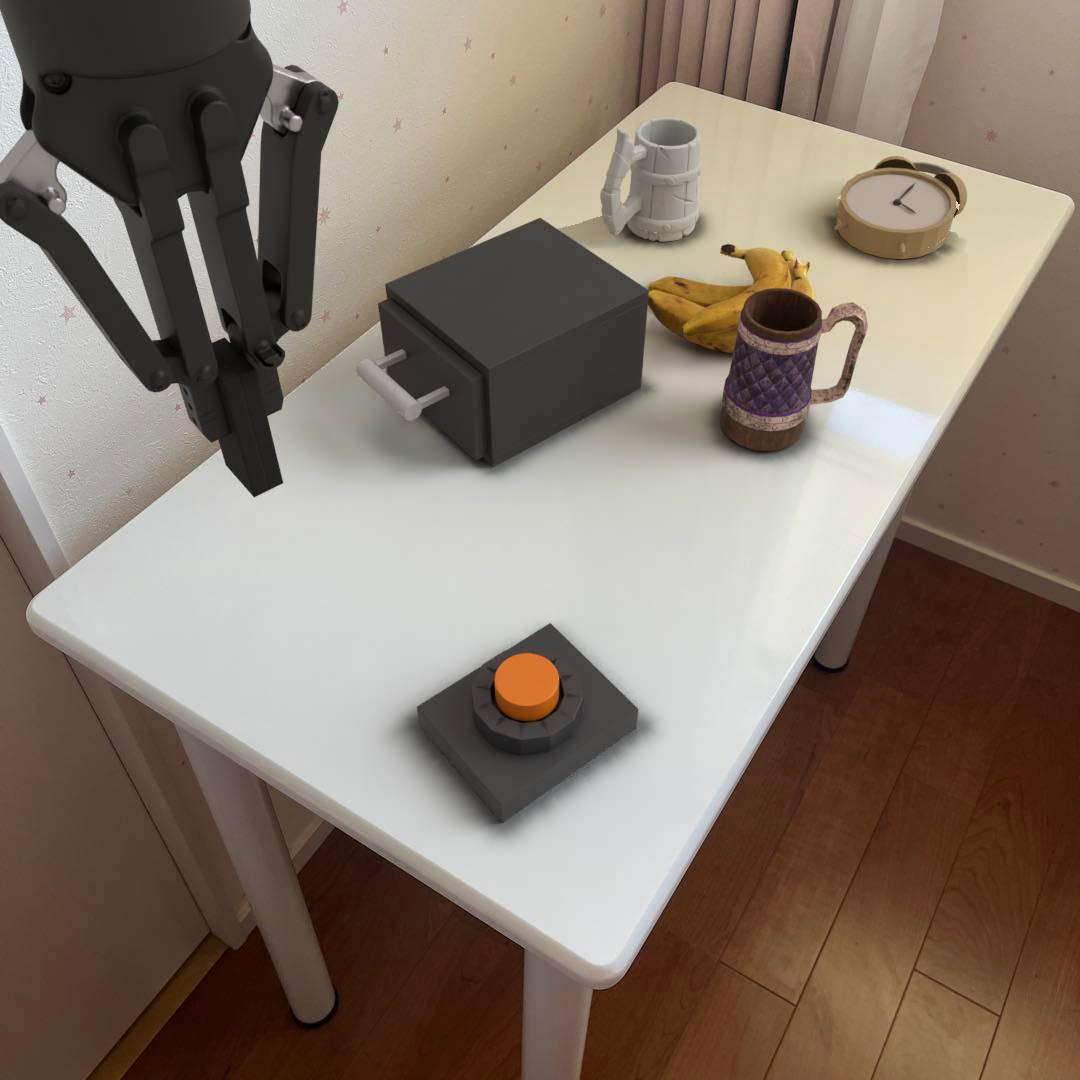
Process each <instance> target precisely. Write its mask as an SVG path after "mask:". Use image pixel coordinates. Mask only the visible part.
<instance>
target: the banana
mask: <svg viewBox="0 0 1080 1080" xmlns="http://www.w3.org/2000/svg"><path fill="white" fill-rule="evenodd" d="M719 254H721V255H724V256H728V257H730V258H733V259H740V260H742V261H744V262H745V265H746V266H747V267H746V268H747V269H748V271H749V273H750V275H751V277H752V284H749V285H735V286H734V285H718V284H710V283H706V282H705V283H704V282H699V281H696V280H691V279H687V278H683V277H680V276H679V277H678V276H665V277H662V278H659V279H656V280H654V281H652V282H650V283H649V284H648V285H649V286H648V290H649V295H648V308H649V309H650V310H651V312H652V314H653V315H654V317H655V318H656V320H657V321H658V322H659V323H660V324H661V325H662V326H663V327H664V328H666V329H667V330H669V332H671V333H673V334H675V335H677V336H679V337H680V338H682V339H684V340H687V341H688V342H690V343H693V344H695V345H699V346H701V347H704V348H706V349H709V350H713V351H716V352H717V351H718V352H723V353H727V354H728V353H729V354H733V352H734V347H735V342H736V337H737V332H738V323H739V318H740V313H741V310H742V309H743V306H744V303H745V301H746V300H747V299H748V297H749V296H751V295H753V294H754V293H756V292H758V291H762V290H765V289H771V288H784V289H791V290H795V291H798V292H802V293H803V294H805V295H807V296H809V297H811V298H812V299H813V300H814V301H815V302H816V295H815V294H816V293H815V290H814V288H813V285H812V283H811V282H810V280H809V278H808V276H807V275H808V272H809V269H810V266H811V265H810V264H811V262H810V261H802V262H801V261H800V260H799V259H798V258H794V257H793V256H794V255H793V251H792V250H785V249H784V250H782V251H781V253H779V252H777V251H776V250H774V249H771V248H770V247H769V248H768V247H755V248H748V249H741V248H738V247H736V246H735V245H734V244H732V243H726V244H723V245H721V247H720V252H719Z"/></svg>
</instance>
